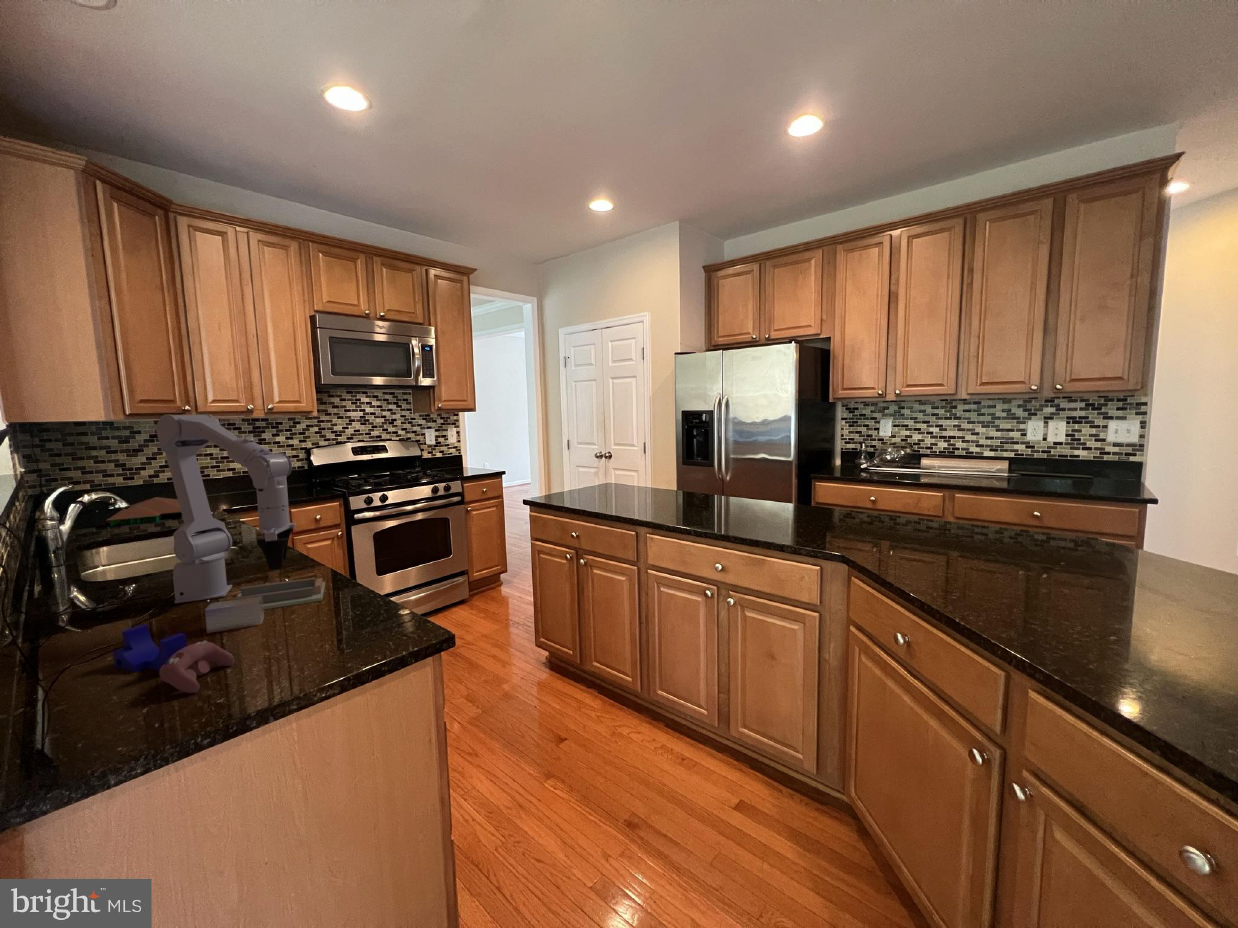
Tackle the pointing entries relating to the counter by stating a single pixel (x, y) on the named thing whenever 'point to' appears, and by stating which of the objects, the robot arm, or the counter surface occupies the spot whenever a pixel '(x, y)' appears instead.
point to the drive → (234, 614)
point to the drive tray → (285, 592)
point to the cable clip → (146, 649)
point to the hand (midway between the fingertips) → (277, 564)
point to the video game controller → (200, 657)
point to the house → (147, 510)
